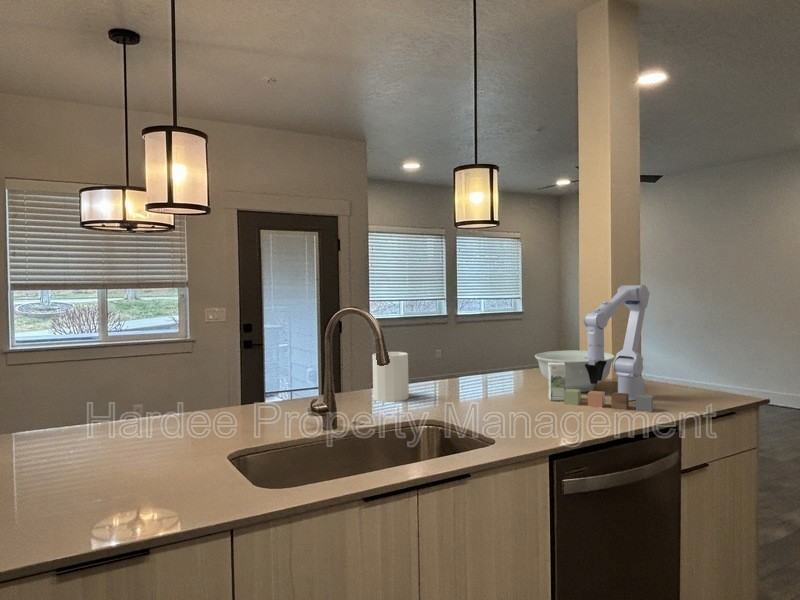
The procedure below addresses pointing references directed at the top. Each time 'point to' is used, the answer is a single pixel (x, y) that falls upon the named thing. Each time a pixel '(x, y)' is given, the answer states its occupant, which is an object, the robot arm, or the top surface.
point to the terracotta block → (596, 399)
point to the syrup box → (556, 381)
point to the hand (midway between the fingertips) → (596, 382)
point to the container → (391, 378)
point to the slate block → (644, 403)
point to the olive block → (572, 396)
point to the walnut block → (620, 401)
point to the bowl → (573, 367)
